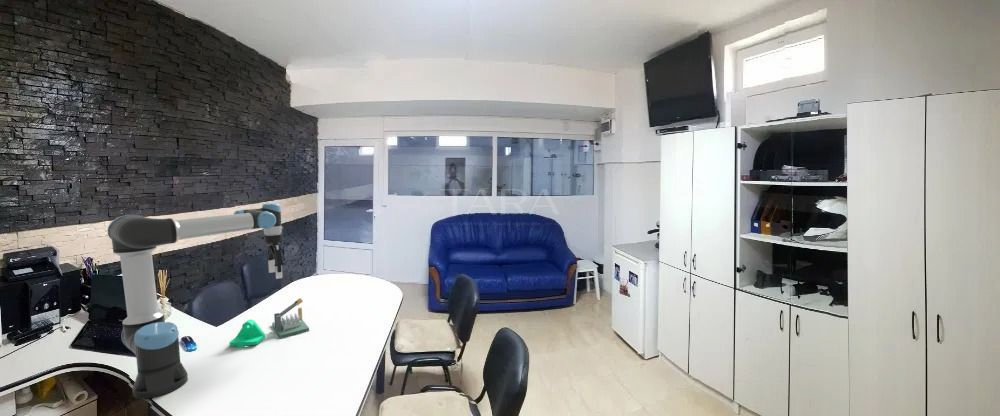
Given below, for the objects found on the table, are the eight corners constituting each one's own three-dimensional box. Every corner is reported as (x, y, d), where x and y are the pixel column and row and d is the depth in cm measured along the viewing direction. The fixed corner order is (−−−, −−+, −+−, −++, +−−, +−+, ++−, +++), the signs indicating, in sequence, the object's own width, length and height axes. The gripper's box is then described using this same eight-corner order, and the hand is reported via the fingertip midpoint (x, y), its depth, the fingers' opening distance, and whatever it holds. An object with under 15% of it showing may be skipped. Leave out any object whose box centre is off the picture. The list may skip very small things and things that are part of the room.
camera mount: (228, 348, 164) (227, 326, 163) (238, 340, 172) (237, 320, 170) (256, 346, 166) (255, 325, 165) (265, 339, 173) (264, 319, 172)
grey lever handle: (303, 301, 186) (301, 299, 186) (277, 320, 179) (275, 318, 178) (301, 299, 189) (299, 297, 189) (276, 318, 182) (274, 315, 181)
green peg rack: (309, 330, 183) (308, 314, 182) (280, 338, 174) (279, 321, 173) (299, 318, 196) (298, 303, 196) (272, 325, 188) (271, 309, 187)
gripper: (288, 236, 171) (291, 279, 173) (275, 229, 188) (277, 268, 191) (270, 238, 166) (273, 282, 168) (258, 231, 183) (261, 271, 186)
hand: (275, 275), depth 180 cm, fingers open, 13 cm apart
